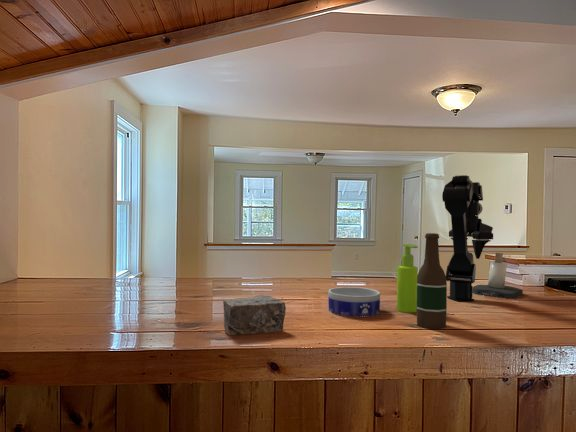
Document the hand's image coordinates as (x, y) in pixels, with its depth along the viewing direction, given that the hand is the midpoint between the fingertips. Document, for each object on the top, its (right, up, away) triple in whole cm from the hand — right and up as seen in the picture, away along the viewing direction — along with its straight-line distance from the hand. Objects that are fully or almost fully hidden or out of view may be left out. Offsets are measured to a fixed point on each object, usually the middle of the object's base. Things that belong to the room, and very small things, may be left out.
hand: (469, 257), depth 154 cm
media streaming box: (+9, -14, -3) cm, 17 cm away
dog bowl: (-49, -13, -32) cm, 60 cm away
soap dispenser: (-32, -13, -31) cm, 47 cm away
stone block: (-77, -13, -52) cm, 94 cm away
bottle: (+8, -10, -3) cm, 14 cm away
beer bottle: (-31, -13, -47) cm, 58 cm away
